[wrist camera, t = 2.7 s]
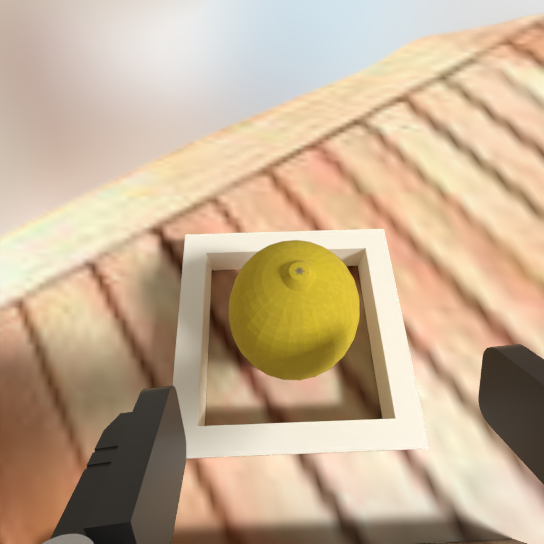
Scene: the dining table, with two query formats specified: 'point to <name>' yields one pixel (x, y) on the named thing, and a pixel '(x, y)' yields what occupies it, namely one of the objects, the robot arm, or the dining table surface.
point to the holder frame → (298, 435)
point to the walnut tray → (484, 542)
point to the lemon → (294, 310)
